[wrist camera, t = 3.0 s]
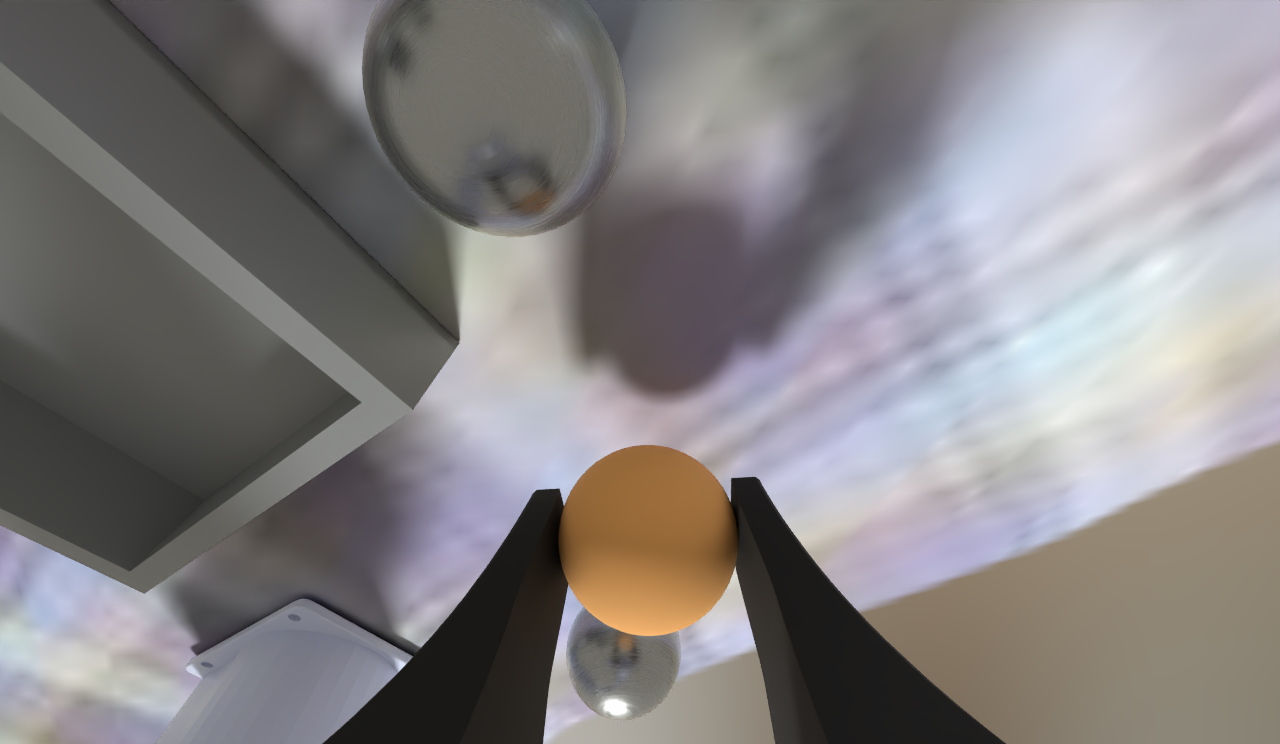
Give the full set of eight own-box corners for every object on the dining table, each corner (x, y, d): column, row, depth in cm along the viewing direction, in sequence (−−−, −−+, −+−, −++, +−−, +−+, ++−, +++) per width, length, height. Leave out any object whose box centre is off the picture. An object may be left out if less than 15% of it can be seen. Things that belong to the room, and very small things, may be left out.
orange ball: (629, 541, 15) (626, 692, 11) (538, 457, 13) (497, 605, 9) (750, 485, 14) (791, 636, 10) (669, 383, 12) (681, 521, 8)
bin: (222, 513, 17) (144, 593, 15) (-252, 233, 12) (-517, 279, 9) (459, 342, 13) (412, 409, 11) (-86, -190, 8) (-461, -328, 5)
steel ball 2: (615, 635, 22) (608, 751, 18) (552, 588, 20) (531, 707, 16) (696, 604, 20) (708, 722, 16) (638, 550, 18) (636, 670, 15)
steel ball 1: (523, 242, 12) (468, 317, 8) (383, 74, 10) (228, 72, 6) (668, 131, 11) (681, 160, 7) (538, -88, 9) (457, -215, 5)
